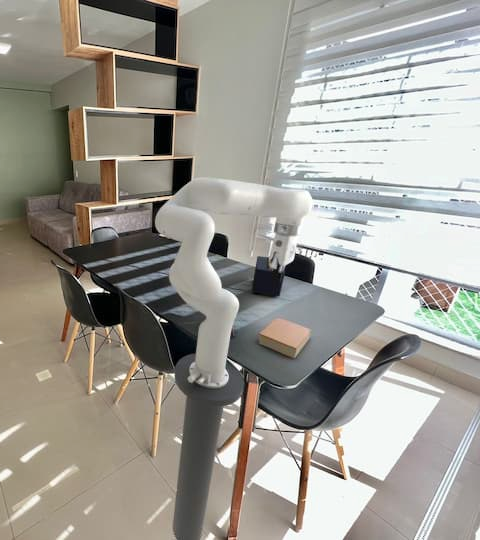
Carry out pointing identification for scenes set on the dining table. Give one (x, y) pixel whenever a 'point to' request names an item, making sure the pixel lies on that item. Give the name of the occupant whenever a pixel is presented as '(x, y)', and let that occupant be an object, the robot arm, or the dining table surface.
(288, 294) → the dining table surface
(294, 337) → the cover
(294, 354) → the open wooden box
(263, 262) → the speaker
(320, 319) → the dining table surface
